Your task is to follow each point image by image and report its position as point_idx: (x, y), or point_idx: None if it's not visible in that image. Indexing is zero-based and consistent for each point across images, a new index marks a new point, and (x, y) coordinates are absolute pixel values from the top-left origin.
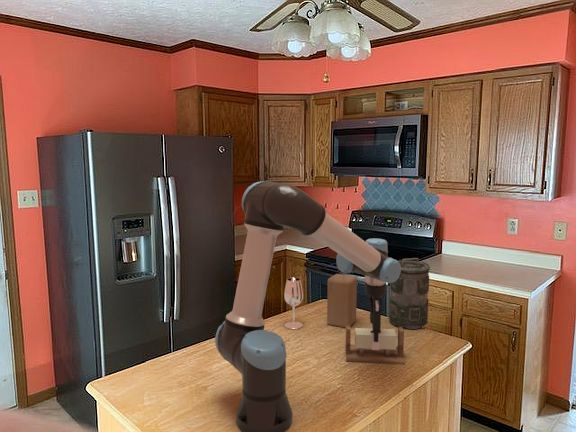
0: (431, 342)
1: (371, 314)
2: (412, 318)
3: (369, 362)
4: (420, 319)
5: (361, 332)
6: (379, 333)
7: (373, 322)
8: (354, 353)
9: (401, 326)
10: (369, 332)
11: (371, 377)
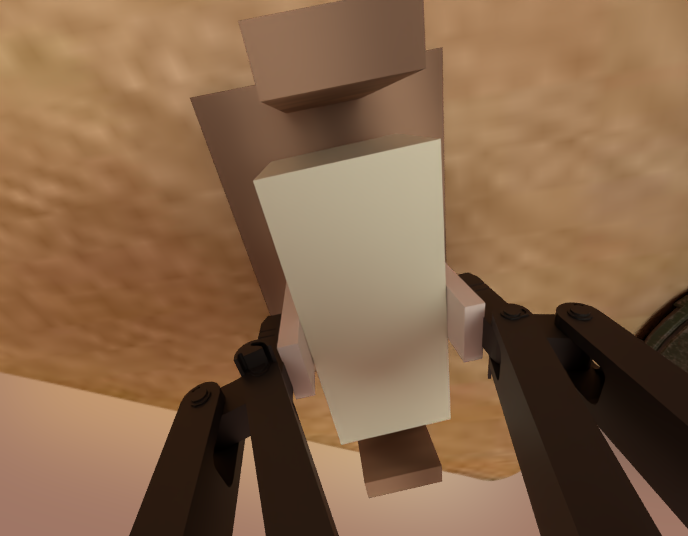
0: (503, 417)
1: (531, 414)
2: None
3: (245, 240)
4: None
5: (335, 226)
6: (296, 388)
7: (130, 533)
8: (313, 141)
9: (659, 325)
10: (354, 293)
11: (87, 270)
